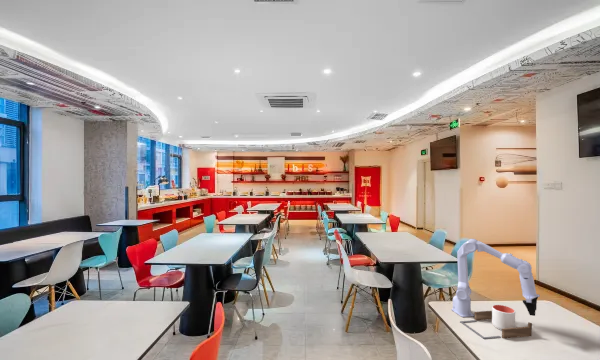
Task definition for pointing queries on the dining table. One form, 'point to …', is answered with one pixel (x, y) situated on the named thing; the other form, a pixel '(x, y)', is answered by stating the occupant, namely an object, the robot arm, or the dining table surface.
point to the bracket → (477, 332)
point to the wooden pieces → (506, 331)
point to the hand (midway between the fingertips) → (533, 312)
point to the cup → (503, 317)
